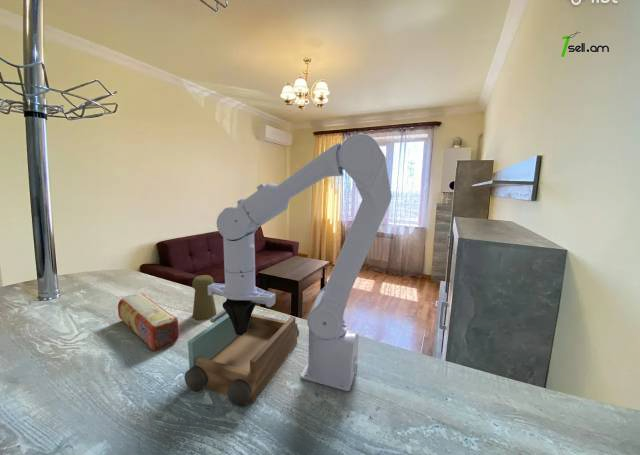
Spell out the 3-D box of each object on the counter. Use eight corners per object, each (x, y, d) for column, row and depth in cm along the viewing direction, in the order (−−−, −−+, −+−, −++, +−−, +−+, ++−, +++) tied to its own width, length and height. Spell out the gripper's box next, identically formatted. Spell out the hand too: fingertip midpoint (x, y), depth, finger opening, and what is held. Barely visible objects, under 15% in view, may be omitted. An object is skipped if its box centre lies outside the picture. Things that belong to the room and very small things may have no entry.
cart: (299, 340, 62) (299, 312, 60) (248, 409, 43) (247, 370, 41) (251, 329, 66) (250, 303, 65) (185, 388, 47) (182, 352, 46)
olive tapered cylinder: (207, 321, 69) (205, 281, 67) (187, 318, 70) (184, 279, 68) (220, 311, 75) (219, 273, 73) (201, 308, 76) (199, 271, 74)
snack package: (182, 341, 61) (181, 314, 60) (150, 355, 56) (148, 325, 54) (146, 312, 74) (144, 289, 72) (117, 321, 68) (115, 297, 67)
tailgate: (251, 324, 64) (251, 297, 63) (194, 373, 47) (192, 337, 46) (245, 322, 65) (244, 296, 63) (186, 370, 48) (183, 335, 47)
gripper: (282, 267, 53) (282, 329, 55) (223, 258, 58) (225, 316, 60) (264, 278, 46) (265, 349, 49) (198, 268, 51) (201, 333, 53)
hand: (241, 332), depth 54 cm, fingers closed
